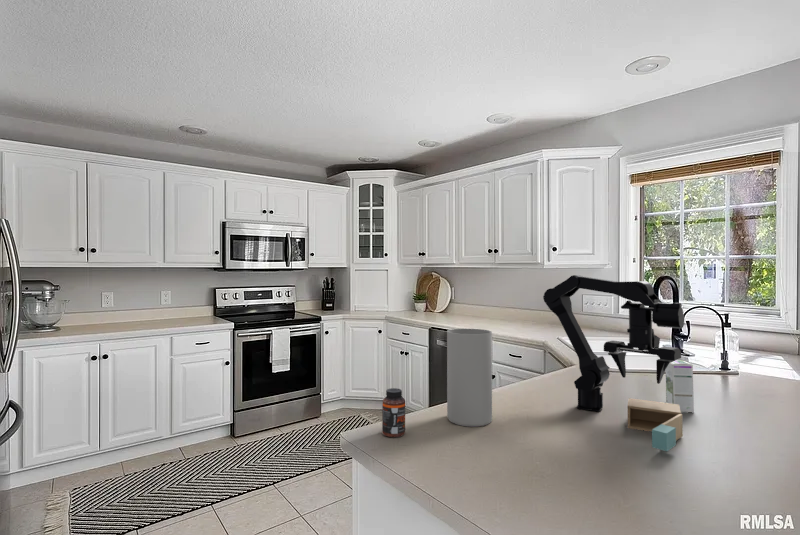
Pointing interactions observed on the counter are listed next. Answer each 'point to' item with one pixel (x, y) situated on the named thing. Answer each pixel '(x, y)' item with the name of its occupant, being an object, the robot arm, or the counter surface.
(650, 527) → the counter surface
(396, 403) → the supplement bottle
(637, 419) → the carton
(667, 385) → the syrup box
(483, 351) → the cylinder vase
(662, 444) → the carton flap
